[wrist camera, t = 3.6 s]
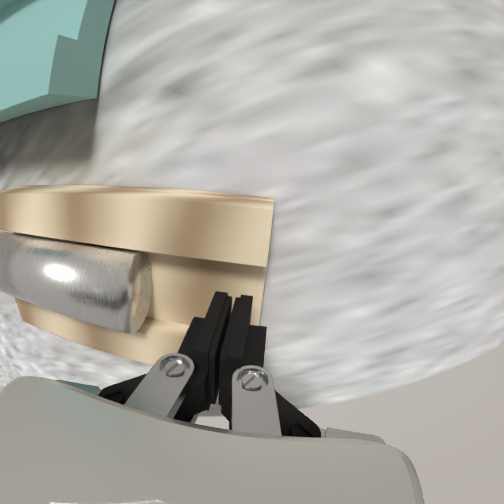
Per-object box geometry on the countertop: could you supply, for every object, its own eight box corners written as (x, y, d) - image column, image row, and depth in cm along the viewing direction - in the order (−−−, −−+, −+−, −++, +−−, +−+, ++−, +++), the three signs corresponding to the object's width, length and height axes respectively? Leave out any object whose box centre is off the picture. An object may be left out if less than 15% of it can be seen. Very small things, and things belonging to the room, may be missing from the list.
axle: (153, 246, 14) (115, 262, 10) (152, 315, 15) (120, 348, 11) (16, 228, 15) (-23, 235, 11) (19, 280, 16) (-17, 295, 12)
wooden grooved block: (274, 198, 13) (273, 209, 11) (254, 357, 17) (250, 383, 15) (15, 186, 14) (-7, 194, 12) (38, 306, 18) (22, 320, 16)
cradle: (134, -58, 7) (106, -85, 4) (96, 98, 12) (47, 93, 8) (17, -2, 8) (-14, -10, 4) (-10, 126, 12) (-47, 132, 9)
